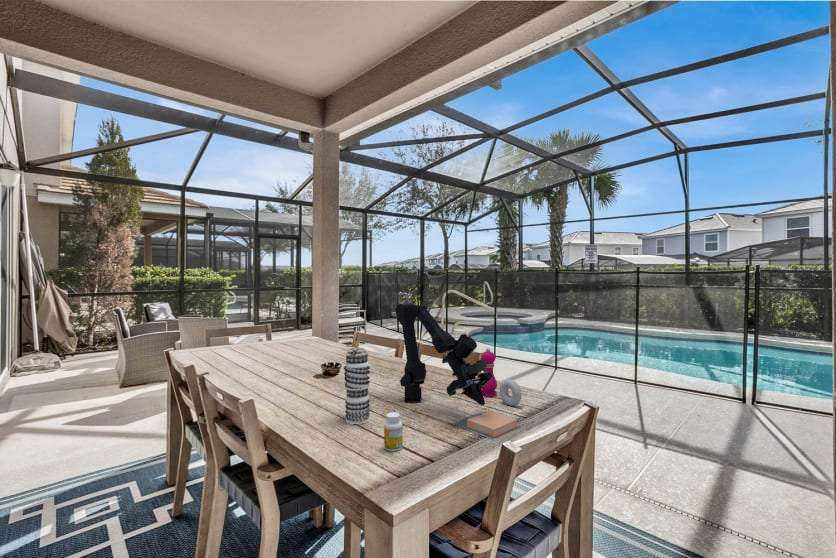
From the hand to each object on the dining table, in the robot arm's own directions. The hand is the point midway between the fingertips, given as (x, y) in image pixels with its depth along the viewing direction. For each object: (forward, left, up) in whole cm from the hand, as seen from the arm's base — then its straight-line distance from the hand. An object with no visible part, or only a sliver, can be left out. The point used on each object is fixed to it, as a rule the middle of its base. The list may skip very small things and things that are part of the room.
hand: (483, 404), depth 127 cm
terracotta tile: (-1, +2, -5) cm, 6 cm away
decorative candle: (-43, +7, -7) cm, 44 cm away
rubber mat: (0, -1, -7) cm, 7 cm away
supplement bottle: (-29, -15, -7) cm, 34 cm away
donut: (+14, +20, -7) cm, 25 cm away
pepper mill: (+8, +33, -7) cm, 34 cm away
